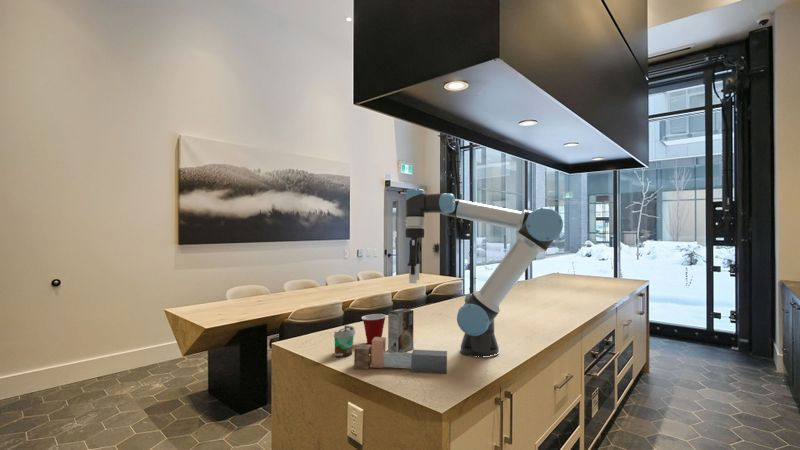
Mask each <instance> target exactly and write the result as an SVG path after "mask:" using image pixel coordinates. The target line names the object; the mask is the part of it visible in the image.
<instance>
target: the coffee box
mask: <svg viewBox="0 0 800 450" xmlns="http://www.w3.org/2000/svg"><path fill="white" fill-rule="evenodd" d="M387 313H388V314H387V315H388V317H387V318H388V319H387V323H388V324H387V325H388V326H387V331H388V332H387V333H388V334H387V350H388V352H399V353H406V352H407V351H411V350H412V351H413V350H414V310H411V309H408V308H398V309H392V310H388V312H387Z"/></svg>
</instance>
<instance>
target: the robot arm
mask: <svg viewBox="0 0 800 450" xmlns="http://www.w3.org/2000/svg"><path fill="white" fill-rule="evenodd" d="M405 195H406V196H405V219H404V220H403V222H404V223H405V227H406V229H405V238H406V239H410V240H409V243H408V245H409V256H408V257H409V258H408V259H409V261H408V263H407V267H409V270H408V272H409V273H408V277H409V278H408V279H409V281H408V282H409V284H417V281H420V264H422V261H421V260H420V259H421V257H420V250H421V249H420V247H421V242H420V240H419V239H424V238H425V222H426V219H425V214H440V215H443V216H448V217H453V218H458V219H459V218H460V219H464V220H467V221H468V220H469V221H472V222H477V223H481V224H487V225H490V226H491V225H492V226H496V227H500V228H503V229H510V230H515V231H517V232H516V233H517V240H516V241H515V242H514V244H512V246H511V248H510V249H509V250H508V252H507V253H506V255H505V256H504V257H503V259H502V260H500V263H498V265H497V267H496V268H495V269H494V271H493V272H492V273H491V275H490V276H489V277H488V279H487V280H486V281H485V283H484V284H483V285H482V287H481V288H480V290H477V291H476V290H475V291H473V292H472V293H471V294H466V295H465V299H464V304H463V305H462V306H461V307H460V308H459V309H458V311H457V314H456V322H457V326H458V327H459V328H460V330H461V331H462V332H463V333H464V334H463V337H462V340H461V343H460V352H461V353H462V354H463V355H465V356H469V355H470V356H469V357H473V356H477V357H476V358H484V357H483V356H490V355H494V354H497V353H498V352H499V344H498V341H497V337H496V335H495V318H496V317H497V316H498V315H499V313H500V305H501V303H502V302H503V300H504V299H505V298H506V297H507V295H508V294H509V293H510V292H511V290H512V289H513V288H514V287H515V285H516V283H517V282H518V281H519V279H521V277H522V276H523V275H524V273H525V272H526V270H527V269H528V267H530V266H531V264H532V262H533V261H534V260H535V259H536V257H537V256H538V255H539V254H540V253H544V252H547V250H548V248H550V246H551V245H552V243H553V242H554V241H555V240H556V239H557V238H558V237H559V236H560V235H561V233H562V231H563V227H564V222H563V218H562V216H561V215H560V213H559V212H557V211H556V209H553V208H551V207H548V206H547V207H546V206H545V207H538V208H536V209H534V210H529V209H524V210H522V211H519V210H514V209H509V208H504V207H500V206H494V205H489V204H483V203H479V202H474V201H473V202H472V201H467V200H463V199H460V198H459V199H458V198H456V197H455V194H453V193H446V192H444V193H443V192H442V193H426V191H425V189H422V188H410V189H408V190H406V194H405ZM499 353H500V352H499ZM478 356H479V357H478Z"/></svg>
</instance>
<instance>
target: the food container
mask: <svg viewBox="0 0 800 450" xmlns="http://www.w3.org/2000/svg"><path fill="white" fill-rule="evenodd" d="M355 335H356V330H355V327H354V326H351V325H344V327H343V328H341V329H339V330H338V331H334V333H333V338H334V358H335V357H336V358H335V359H337V358H338V359H339V358H341V359H342V358H347V357H351V356H352V355H353V349H354V348H353V347H354V336H355Z"/></svg>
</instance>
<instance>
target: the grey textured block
mask: <svg viewBox="0 0 800 450" xmlns="http://www.w3.org/2000/svg"><path fill="white" fill-rule="evenodd" d="M353 349H354V351H353V352H354V353H353V354H354V356H353V357H354V358H353V361H354V363H353V369H354V370H361V369H365V370H366V371H369V369H370V368H371V367H372V363H369V354H372V345H369V344H365V343H364V344H362V343H358V344H357V345H356V346H355V347H354V348H353Z"/></svg>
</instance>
